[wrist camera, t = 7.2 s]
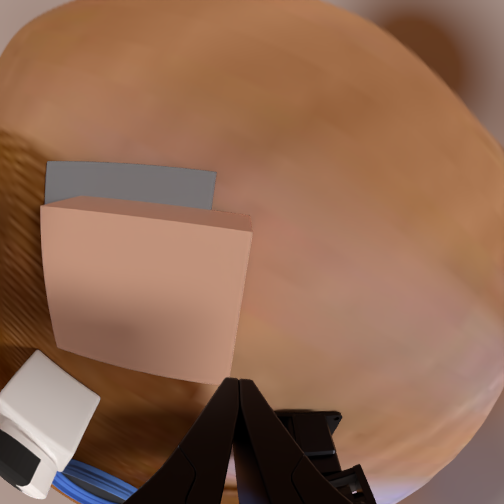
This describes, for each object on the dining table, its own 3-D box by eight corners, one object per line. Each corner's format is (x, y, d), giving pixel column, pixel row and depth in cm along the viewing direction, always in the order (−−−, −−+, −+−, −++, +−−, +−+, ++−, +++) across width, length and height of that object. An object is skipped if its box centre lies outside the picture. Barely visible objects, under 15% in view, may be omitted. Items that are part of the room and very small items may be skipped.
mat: (196, 358, 18) (195, 362, 17) (59, 326, 17) (56, 329, 16) (216, 172, 14) (215, 172, 14) (50, 161, 13) (47, 161, 13)
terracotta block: (228, 386, 13) (57, 347, 12) (230, 342, 17) (85, 315, 16) (252, 232, 11) (40, 205, 10) (249, 215, 15) (81, 195, 14)
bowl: (125, 509, 30) (121, 522, 26) (41, 461, 25) (34, 474, 22) (176, 501, 26) (174, 519, 23) (65, 442, 22) (56, 461, 19)
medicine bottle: (29, 383, 19) (-22, 459, 7) (37, 346, 17) (-35, 436, 6) (84, 424, 20) (46, 510, 9) (102, 395, 19) (53, 505, 7)
